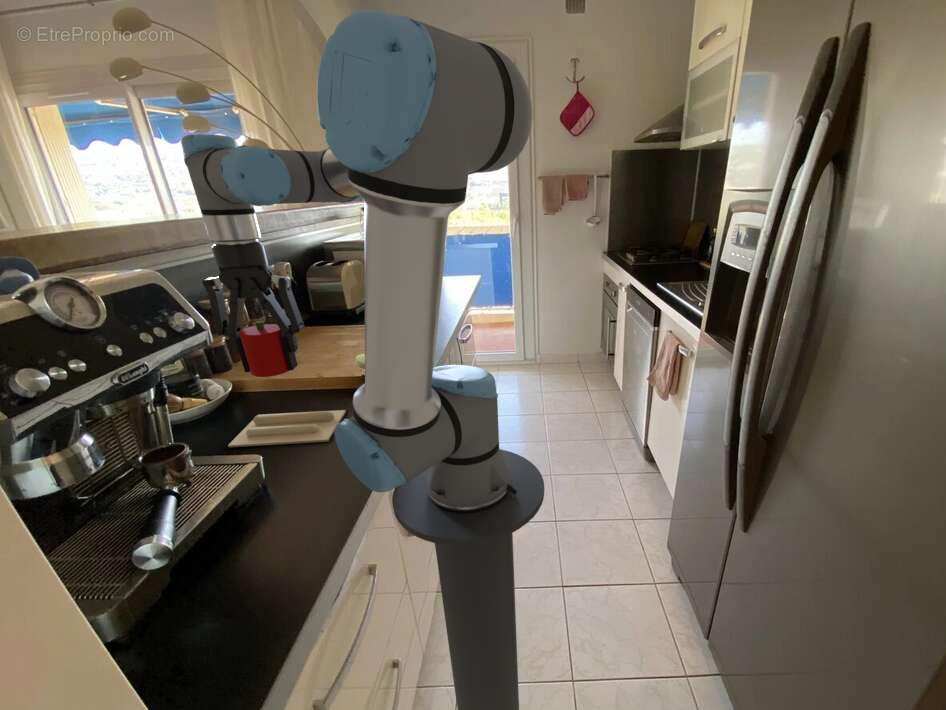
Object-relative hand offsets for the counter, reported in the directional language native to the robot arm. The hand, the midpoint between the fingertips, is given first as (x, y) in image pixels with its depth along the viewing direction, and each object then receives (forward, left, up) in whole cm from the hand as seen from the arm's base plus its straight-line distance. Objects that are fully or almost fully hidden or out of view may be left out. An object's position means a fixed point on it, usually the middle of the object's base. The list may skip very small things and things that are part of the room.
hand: (271, 368), depth 85 cm
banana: (-10, -40, -18) cm, 45 cm away
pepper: (0, 0, 0) cm, 0 cm away
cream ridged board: (+3, -8, -17) cm, 20 cm away
